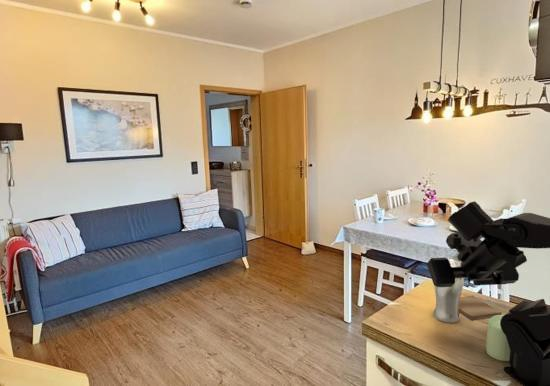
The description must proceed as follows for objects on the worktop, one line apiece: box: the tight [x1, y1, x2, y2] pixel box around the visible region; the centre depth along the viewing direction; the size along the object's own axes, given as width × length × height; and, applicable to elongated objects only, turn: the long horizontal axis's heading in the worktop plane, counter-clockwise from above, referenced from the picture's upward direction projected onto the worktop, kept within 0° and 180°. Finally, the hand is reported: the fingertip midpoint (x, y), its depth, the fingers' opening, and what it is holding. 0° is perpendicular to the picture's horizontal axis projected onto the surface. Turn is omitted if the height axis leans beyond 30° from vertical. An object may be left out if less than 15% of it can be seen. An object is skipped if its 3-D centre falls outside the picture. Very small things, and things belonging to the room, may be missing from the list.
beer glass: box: [433, 258, 465, 324], centre depth 89 cm, size 7×7×15 cm
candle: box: [485, 314, 510, 362], centre depth 74 cm, size 5×5×8 cm
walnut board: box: [458, 295, 503, 321], centre depth 94 cm, size 10×9×1 cm
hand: (456, 284), depth 85 cm, fingers open, 9 cm apart
